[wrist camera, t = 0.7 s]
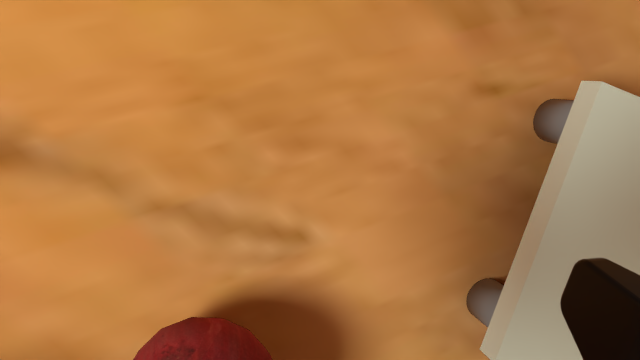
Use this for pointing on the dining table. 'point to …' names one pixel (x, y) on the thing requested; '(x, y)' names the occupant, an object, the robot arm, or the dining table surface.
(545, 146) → the dining table surface
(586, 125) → the shelf
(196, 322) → the onion
